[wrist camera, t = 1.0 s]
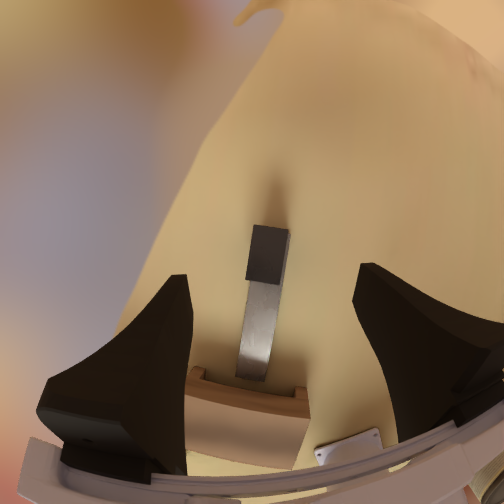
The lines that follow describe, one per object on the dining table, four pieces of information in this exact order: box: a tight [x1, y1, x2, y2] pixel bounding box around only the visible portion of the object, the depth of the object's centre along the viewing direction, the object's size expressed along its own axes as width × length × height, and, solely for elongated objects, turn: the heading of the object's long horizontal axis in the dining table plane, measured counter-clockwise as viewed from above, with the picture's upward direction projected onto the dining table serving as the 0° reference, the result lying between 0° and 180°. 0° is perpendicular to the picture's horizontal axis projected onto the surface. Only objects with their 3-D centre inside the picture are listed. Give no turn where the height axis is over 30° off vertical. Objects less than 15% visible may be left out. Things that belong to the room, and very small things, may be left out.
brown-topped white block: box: [235, 225, 291, 382], centre depth 24 cm, size 15×3×7 cm, turn 171°
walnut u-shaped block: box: [184, 366, 311, 470], centre depth 24 cm, size 8×12×6 cm
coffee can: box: [469, 450, 504, 504], centre depth 17 cm, size 10×10×14 cm
